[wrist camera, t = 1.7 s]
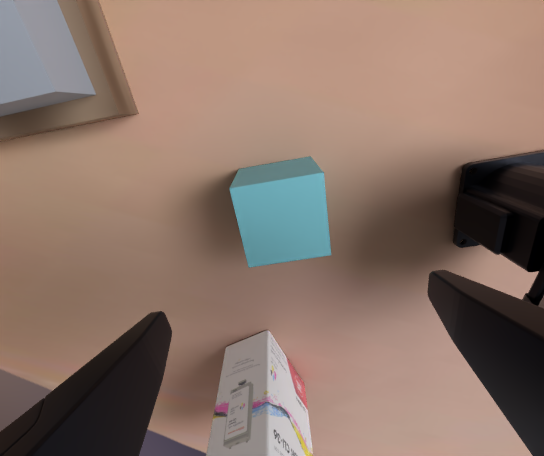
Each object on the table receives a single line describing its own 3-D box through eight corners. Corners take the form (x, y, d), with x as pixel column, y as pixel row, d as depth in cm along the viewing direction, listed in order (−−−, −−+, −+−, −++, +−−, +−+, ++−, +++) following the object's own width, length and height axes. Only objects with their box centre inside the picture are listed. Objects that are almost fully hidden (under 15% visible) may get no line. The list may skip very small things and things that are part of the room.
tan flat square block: (69, -98, 14) (18, -150, 11) (142, 113, 18) (119, 114, 15) (-108, -53, 14) (-198, -91, 11) (2, 141, 18) (-45, 147, 16)
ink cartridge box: (307, 382, 28) (342, 638, 14) (264, 396, 29) (261, 650, 15) (269, 326, 25) (270, 589, 11) (223, 344, 26) (172, 608, 12)
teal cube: (310, 156, 18) (323, 172, 14) (317, 222, 20) (331, 255, 16) (239, 168, 19) (229, 188, 14) (253, 232, 21) (248, 267, 16)
